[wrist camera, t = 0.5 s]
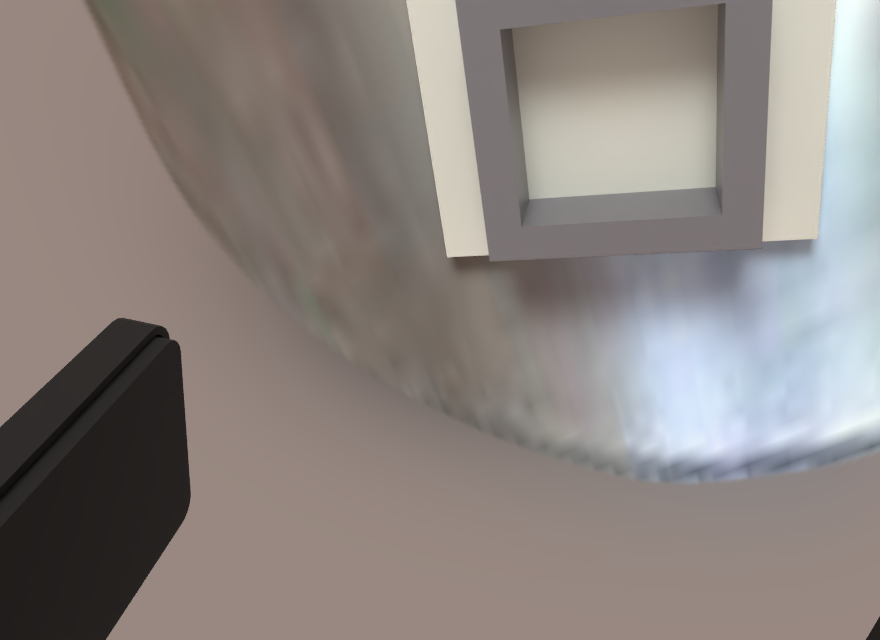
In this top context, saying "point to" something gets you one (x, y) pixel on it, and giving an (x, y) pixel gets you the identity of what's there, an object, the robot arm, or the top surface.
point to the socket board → (624, 123)
